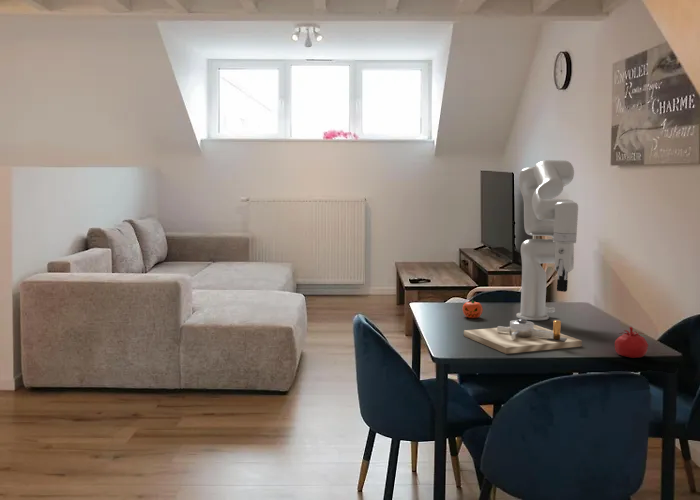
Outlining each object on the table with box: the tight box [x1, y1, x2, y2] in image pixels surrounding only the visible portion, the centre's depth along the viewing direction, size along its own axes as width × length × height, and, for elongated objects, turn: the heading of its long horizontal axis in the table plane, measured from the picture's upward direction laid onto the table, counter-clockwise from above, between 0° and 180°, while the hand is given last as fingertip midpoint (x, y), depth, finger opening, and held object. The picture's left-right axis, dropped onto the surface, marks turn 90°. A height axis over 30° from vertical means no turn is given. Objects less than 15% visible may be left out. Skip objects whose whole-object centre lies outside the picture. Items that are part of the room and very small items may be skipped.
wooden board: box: [463, 324, 583, 355], centre depth 245 cm, size 30×26×2 cm
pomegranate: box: [614, 326, 649, 359], centre depth 227 cm, size 10×10×9 cm
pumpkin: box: [462, 299, 484, 319], centre depth 283 cm, size 8×8×7 cm
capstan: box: [496, 318, 562, 339], centre depth 243 cm, size 22×17×6 cm
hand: (561, 290), depth 244 cm, fingers closed
